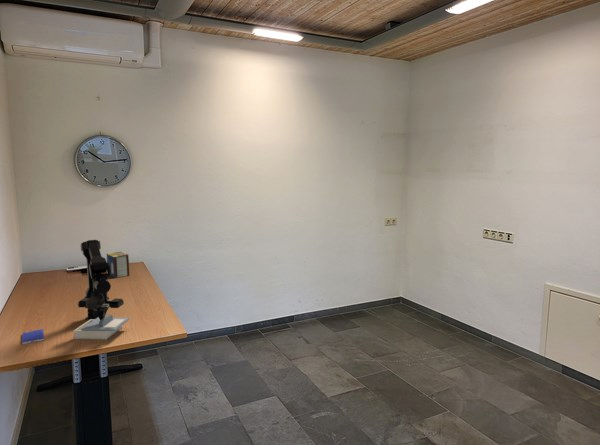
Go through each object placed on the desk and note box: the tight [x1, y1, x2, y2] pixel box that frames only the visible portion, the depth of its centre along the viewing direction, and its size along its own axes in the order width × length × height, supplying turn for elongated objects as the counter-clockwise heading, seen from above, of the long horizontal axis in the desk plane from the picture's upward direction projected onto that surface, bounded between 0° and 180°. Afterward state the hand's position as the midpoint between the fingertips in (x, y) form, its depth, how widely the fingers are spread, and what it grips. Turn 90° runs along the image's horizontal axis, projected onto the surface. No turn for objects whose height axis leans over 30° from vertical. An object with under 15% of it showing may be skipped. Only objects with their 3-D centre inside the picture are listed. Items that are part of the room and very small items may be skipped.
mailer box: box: [73, 319, 123, 341], centre depth 189 cm, size 14×15×4 cm
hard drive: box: [21, 328, 45, 345], centre depth 184 cm, size 2×8×12 cm
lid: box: [81, 314, 131, 331], centre depth 188 cm, size 14×15×3 cm
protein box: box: [106, 251, 131, 279], centre depth 294 cm, size 10×15×16 cm
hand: (102, 320), depth 188 cm, fingers closed
